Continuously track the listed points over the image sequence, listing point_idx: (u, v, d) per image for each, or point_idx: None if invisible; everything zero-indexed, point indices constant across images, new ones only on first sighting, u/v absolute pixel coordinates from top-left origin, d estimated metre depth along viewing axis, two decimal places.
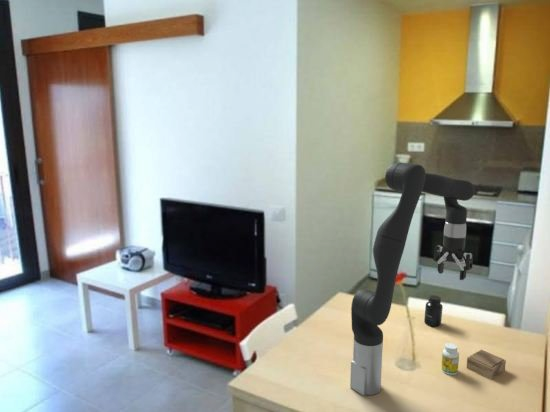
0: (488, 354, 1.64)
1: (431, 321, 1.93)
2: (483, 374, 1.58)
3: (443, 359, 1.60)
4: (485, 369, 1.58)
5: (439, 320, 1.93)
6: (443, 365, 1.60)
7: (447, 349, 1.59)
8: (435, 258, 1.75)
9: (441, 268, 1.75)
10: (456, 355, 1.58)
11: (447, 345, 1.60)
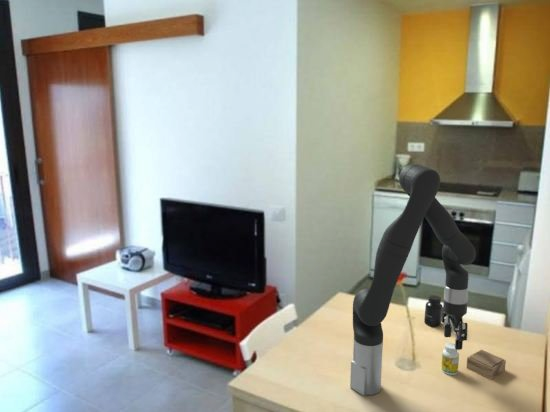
0: (488, 354, 1.64)
1: (431, 321, 1.93)
2: (483, 374, 1.58)
3: (443, 359, 1.60)
4: (485, 369, 1.58)
5: (439, 320, 1.93)
6: (443, 365, 1.60)
7: (447, 349, 1.59)
8: None
9: None
10: (456, 355, 1.58)
11: (447, 345, 1.60)
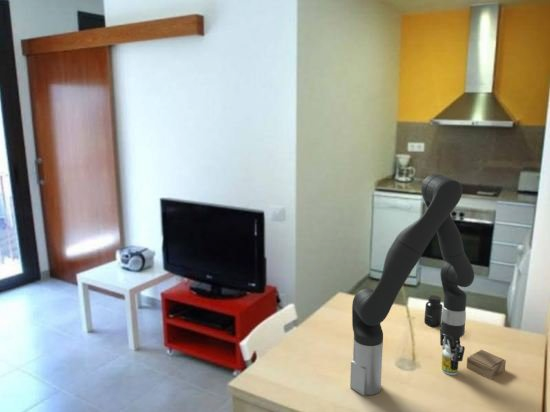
0: (488, 354, 1.64)
1: (431, 321, 1.93)
2: (483, 374, 1.58)
3: (443, 359, 1.60)
4: (485, 369, 1.58)
5: (439, 320, 1.93)
6: (443, 365, 1.60)
7: (447, 349, 1.59)
8: None
9: None
10: None
11: (447, 345, 1.60)
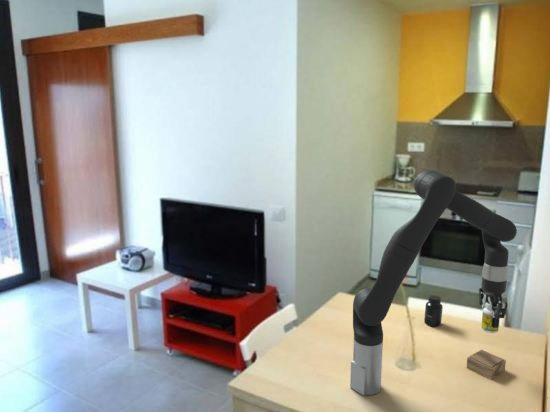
0: (488, 354, 1.64)
1: (431, 321, 1.93)
2: (483, 374, 1.58)
3: (484, 317, 1.58)
4: (485, 369, 1.58)
5: (439, 320, 1.93)
6: (483, 323, 1.58)
7: (488, 307, 1.56)
8: None
9: None
10: None
11: (488, 303, 1.58)
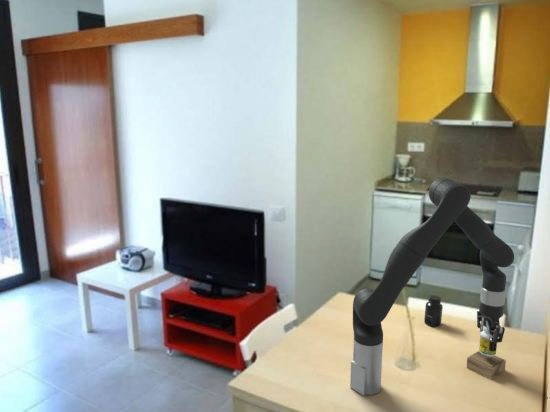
0: None
1: (431, 321, 1.93)
2: (483, 374, 1.58)
3: (481, 341, 1.60)
4: (485, 369, 1.58)
5: (439, 320, 1.93)
6: (481, 347, 1.60)
7: (486, 330, 1.58)
8: None
9: None
10: None
11: (485, 326, 1.59)
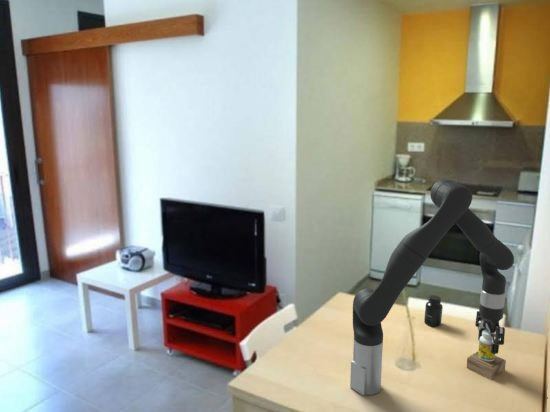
0: None
1: (431, 321, 1.93)
2: (483, 374, 1.58)
3: (480, 346, 1.60)
4: (485, 369, 1.58)
5: (439, 320, 1.93)
6: (480, 352, 1.60)
7: (485, 336, 1.59)
8: None
9: None
10: None
11: (484, 332, 1.60)
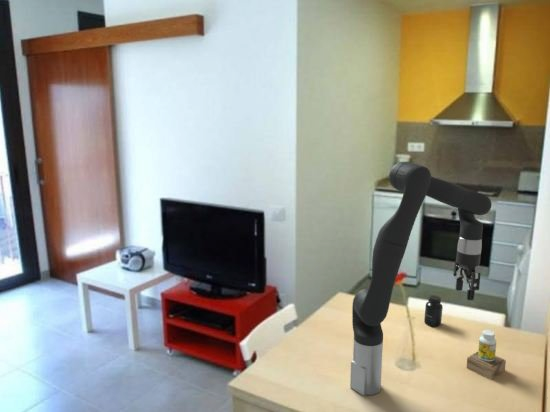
0: None
1: (431, 321, 1.93)
2: (483, 374, 1.58)
3: (480, 346, 1.60)
4: (485, 369, 1.58)
5: (439, 320, 1.93)
6: (480, 352, 1.60)
7: (484, 336, 1.59)
8: None
9: None
10: (494, 342, 1.58)
11: (484, 332, 1.60)
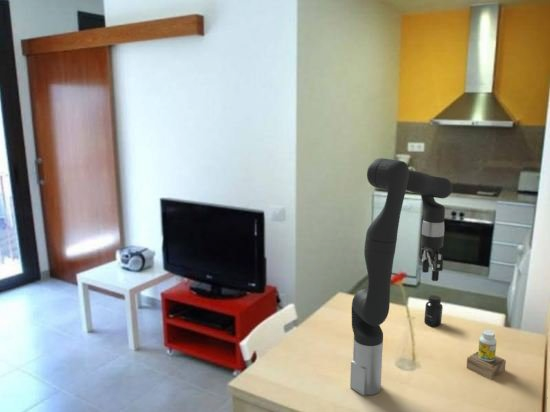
0: None
1: (431, 321, 1.93)
2: (483, 374, 1.58)
3: (480, 346, 1.60)
4: (485, 369, 1.58)
5: (439, 320, 1.93)
6: (480, 352, 1.60)
7: (484, 336, 1.59)
8: None
9: None
10: (494, 342, 1.58)
11: (484, 332, 1.60)
